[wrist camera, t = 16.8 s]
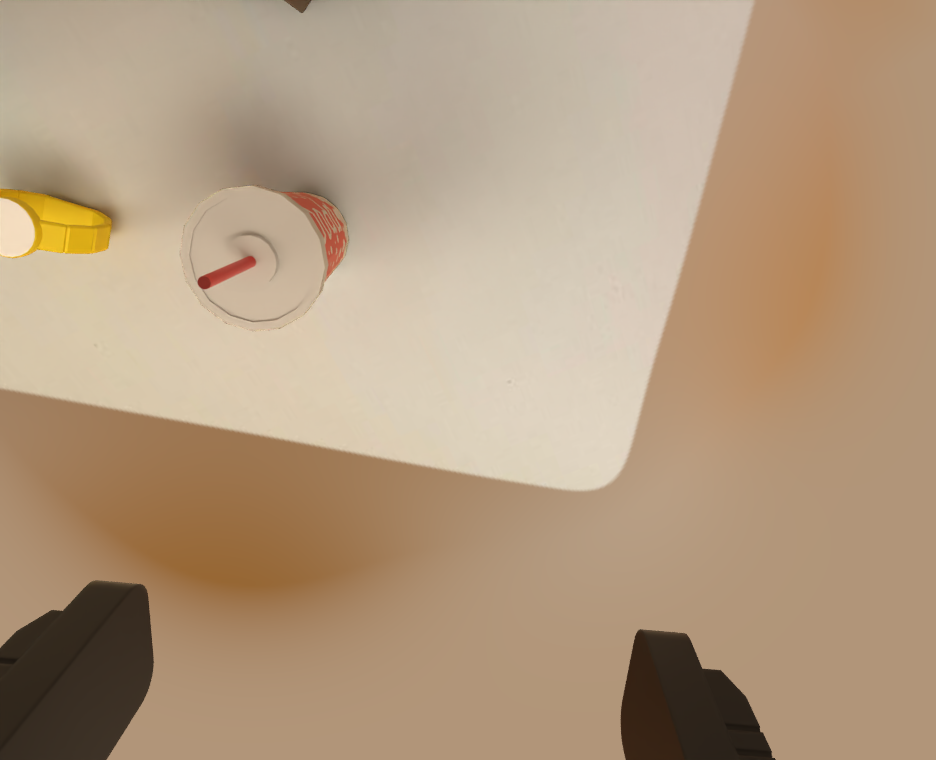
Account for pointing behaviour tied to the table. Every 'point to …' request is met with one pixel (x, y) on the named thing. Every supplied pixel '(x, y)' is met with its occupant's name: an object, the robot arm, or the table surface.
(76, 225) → the watch
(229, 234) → the beverage cup
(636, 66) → the table surface
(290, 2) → the shelf
